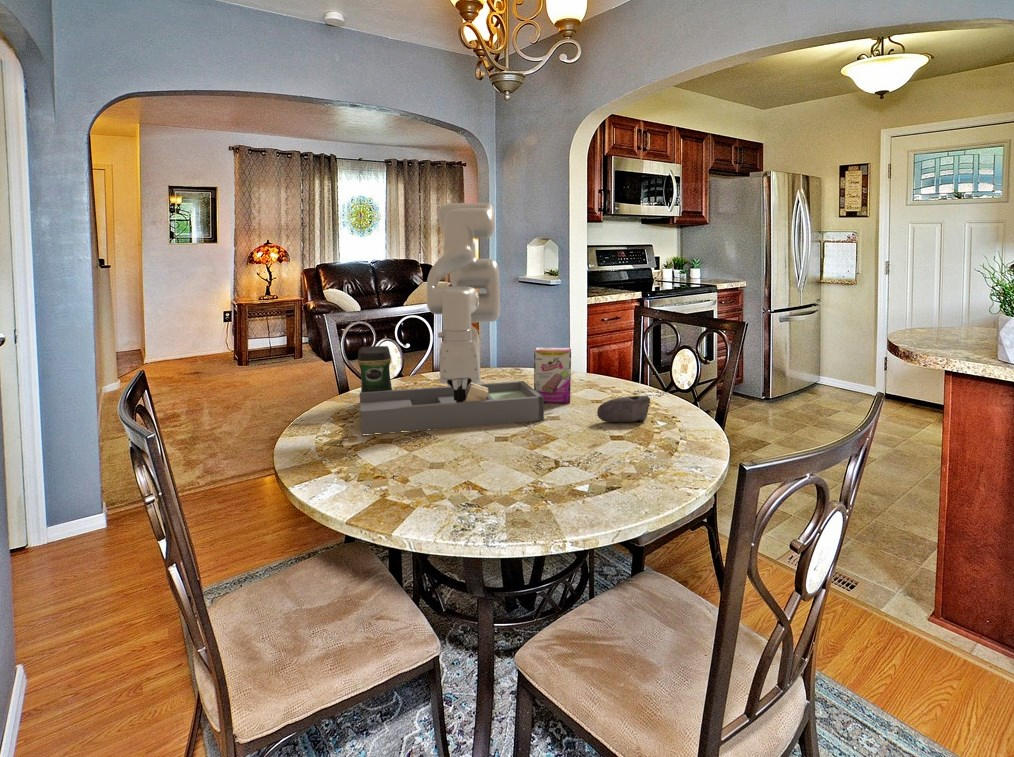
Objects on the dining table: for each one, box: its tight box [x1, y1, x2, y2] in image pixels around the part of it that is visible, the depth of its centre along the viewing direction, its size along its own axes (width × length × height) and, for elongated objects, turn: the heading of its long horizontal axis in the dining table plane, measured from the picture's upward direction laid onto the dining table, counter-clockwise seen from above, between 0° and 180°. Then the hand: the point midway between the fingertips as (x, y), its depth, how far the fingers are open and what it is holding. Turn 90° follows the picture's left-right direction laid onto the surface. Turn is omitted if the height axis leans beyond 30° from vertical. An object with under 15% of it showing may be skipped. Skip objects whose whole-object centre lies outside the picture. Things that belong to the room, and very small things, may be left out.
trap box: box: [359, 380, 545, 436], centre depth 174 cm, size 21×48×6 cm, turn 104°
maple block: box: [465, 383, 488, 402], centre depth 169 cm, size 5×5×5 cm
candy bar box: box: [533, 347, 572, 404], centre depth 188 cm, size 11×5×16 cm, turn 84°
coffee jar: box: [357, 345, 393, 392], centre depth 184 cm, size 10×8×19 cm
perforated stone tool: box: [596, 395, 651, 424], centre depth 167 cm, size 15×5×7 cm, turn 95°
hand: (459, 402), depth 169 cm, fingers closed
